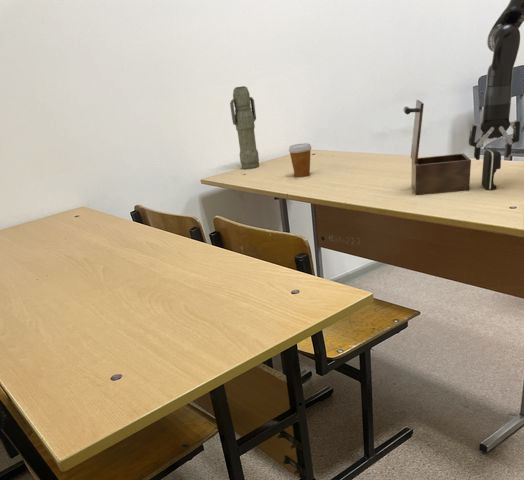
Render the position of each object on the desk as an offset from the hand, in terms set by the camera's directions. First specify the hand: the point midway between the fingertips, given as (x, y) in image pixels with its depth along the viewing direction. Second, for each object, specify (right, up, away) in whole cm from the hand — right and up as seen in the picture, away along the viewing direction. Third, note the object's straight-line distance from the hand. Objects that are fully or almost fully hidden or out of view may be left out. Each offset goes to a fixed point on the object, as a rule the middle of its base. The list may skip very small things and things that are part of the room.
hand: (491, 158), depth 166 cm
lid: (-22, +10, +4) cm, 24 cm away
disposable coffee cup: (-55, +14, +58) cm, 81 cm away
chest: (-13, -6, +11) cm, 18 cm away
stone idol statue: (-78, +28, +89) cm, 121 cm away
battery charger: (+1, -8, +5) cm, 9 cm away
